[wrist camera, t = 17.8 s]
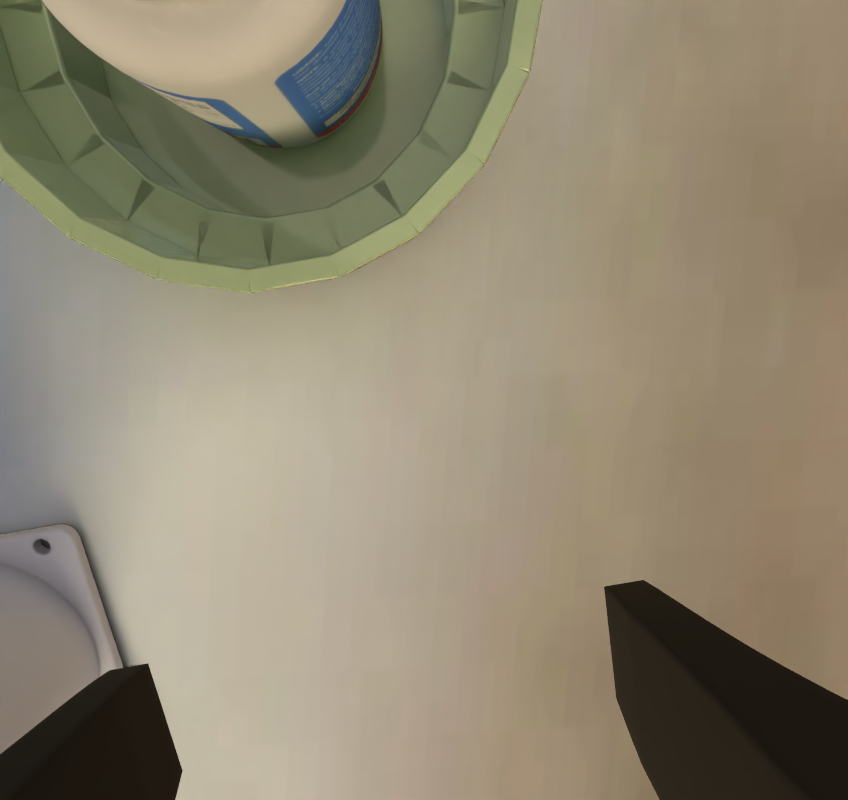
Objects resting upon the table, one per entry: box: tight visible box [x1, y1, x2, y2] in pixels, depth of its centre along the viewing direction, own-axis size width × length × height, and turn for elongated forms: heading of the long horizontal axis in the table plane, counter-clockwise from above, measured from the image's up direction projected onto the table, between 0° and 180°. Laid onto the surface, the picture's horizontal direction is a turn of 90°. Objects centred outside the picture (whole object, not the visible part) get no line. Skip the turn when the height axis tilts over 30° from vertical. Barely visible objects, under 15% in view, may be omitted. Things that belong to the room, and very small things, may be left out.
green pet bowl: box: [0, 0, 543, 293], centre depth 14 cm, size 12×12×5 cm
